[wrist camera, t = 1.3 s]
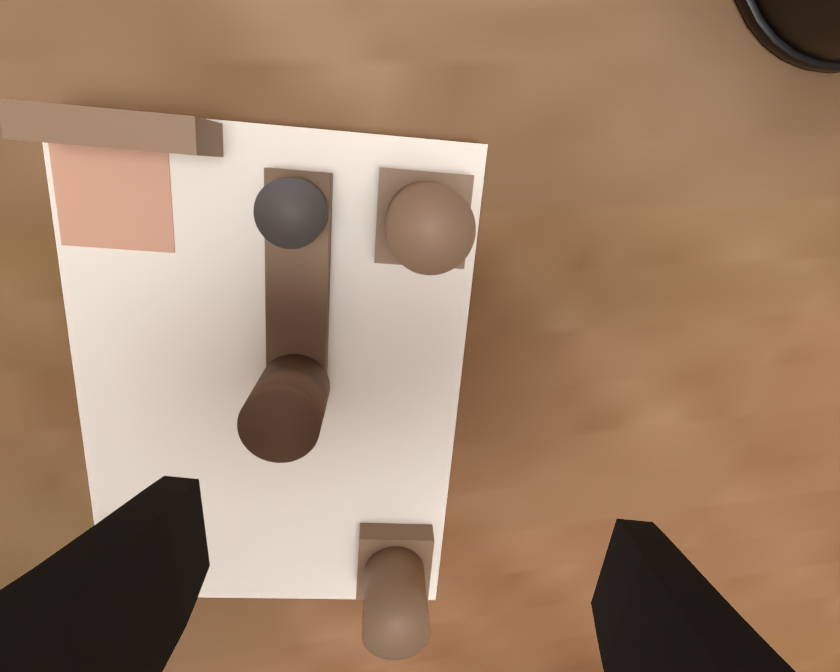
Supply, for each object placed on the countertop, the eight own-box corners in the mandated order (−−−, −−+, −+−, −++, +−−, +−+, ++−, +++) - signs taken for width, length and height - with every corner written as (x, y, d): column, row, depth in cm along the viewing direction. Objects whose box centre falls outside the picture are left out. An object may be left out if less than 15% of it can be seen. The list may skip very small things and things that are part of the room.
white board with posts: (432, 574, 24) (445, 686, 19) (121, 569, 23) (44, 688, 18) (479, 146, 18) (517, 138, 13) (66, 108, 17) (-74, 82, 12)
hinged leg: (264, 167, 17) (228, 167, 13) (338, 173, 17) (326, 175, 13) (267, 403, 19) (237, 461, 15) (331, 406, 19) (319, 464, 16)
